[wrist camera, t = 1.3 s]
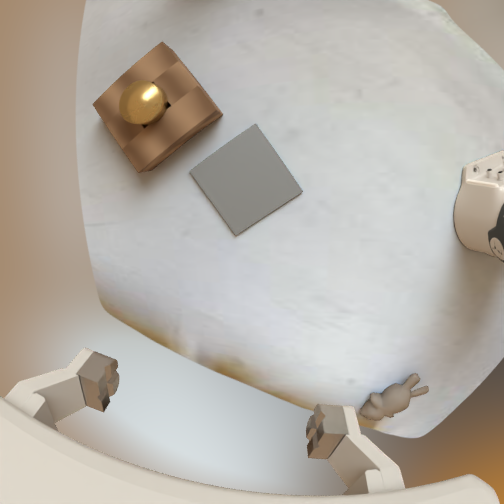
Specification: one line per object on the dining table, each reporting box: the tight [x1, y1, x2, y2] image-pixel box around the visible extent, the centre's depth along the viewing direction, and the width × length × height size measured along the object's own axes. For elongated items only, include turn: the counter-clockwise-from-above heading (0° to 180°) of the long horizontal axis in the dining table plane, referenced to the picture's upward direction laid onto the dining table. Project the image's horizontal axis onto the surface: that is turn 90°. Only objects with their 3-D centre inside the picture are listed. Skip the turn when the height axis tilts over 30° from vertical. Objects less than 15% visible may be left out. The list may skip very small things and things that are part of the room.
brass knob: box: [119, 80, 171, 125], centre depth 37 cm, size 6×6×8 cm
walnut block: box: [93, 42, 223, 173], centre depth 38 cm, size 14×14×5 cm
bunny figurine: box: [360, 373, 429, 421], centre depth 52 cm, size 10×5×15 cm
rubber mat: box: [189, 124, 303, 235], centre depth 43 cm, size 12×12×1 cm
